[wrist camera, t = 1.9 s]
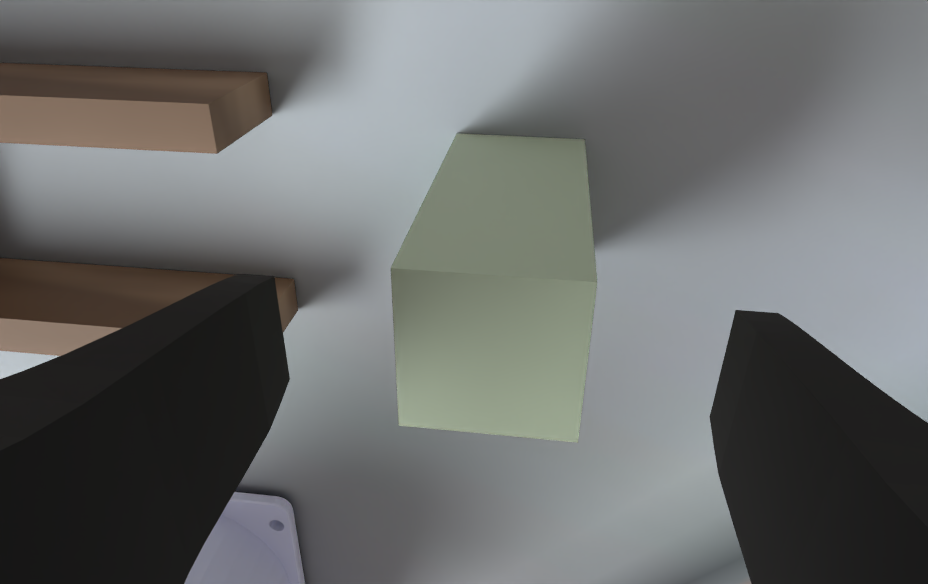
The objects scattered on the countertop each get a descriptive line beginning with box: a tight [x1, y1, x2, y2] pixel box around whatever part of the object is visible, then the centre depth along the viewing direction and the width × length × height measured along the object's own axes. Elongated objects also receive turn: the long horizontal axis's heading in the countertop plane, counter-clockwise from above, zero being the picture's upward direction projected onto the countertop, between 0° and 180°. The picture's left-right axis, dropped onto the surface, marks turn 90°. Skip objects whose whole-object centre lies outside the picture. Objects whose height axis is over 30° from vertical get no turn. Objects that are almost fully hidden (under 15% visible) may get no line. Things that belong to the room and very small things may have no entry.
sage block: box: [391, 133, 597, 443], centre depth 13 cm, size 3×3×7 cm
